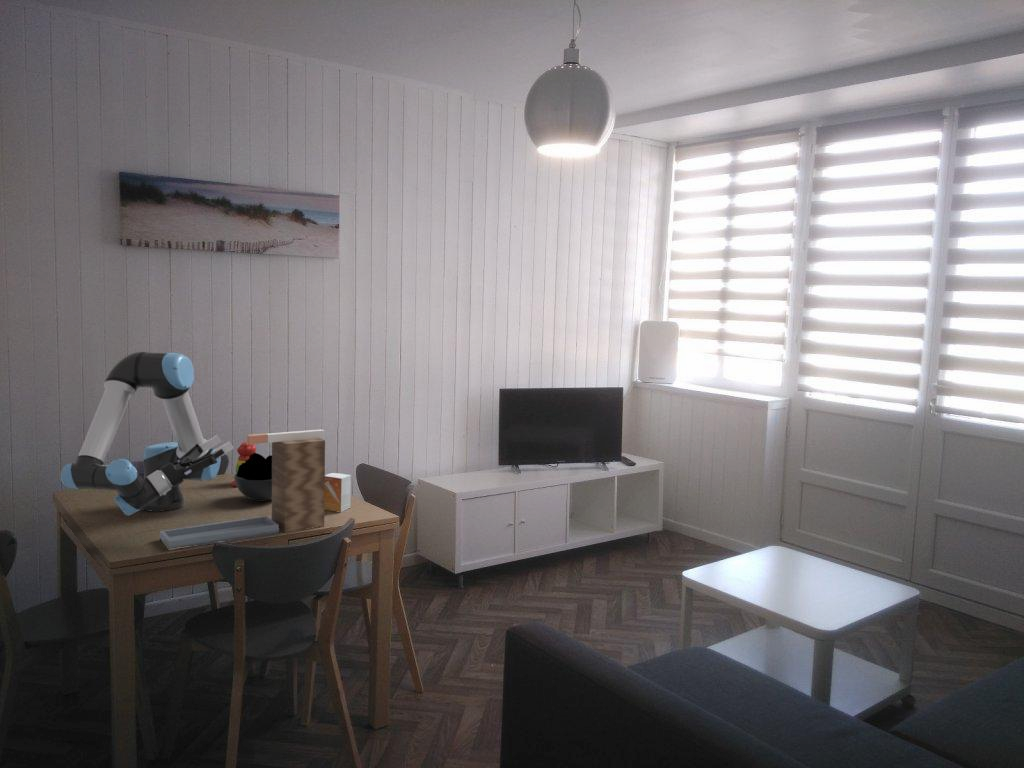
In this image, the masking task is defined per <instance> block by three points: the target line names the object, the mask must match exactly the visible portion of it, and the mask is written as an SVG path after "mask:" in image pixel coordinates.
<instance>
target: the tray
mask: <svg viewBox="0 0 1024 768" xmlns="http://www.w3.org/2000/svg"><path fill="white" fill-rule="evenodd" d="M279 530H280V529H279V525H278V524H277V523H275V522H274V521H272V518H269V517H268V516H267V515H263V516H262V515H261V516H257V517H256V516H255V517H249V518H241V519H235V520H229V521H221V522H214V523H213V522H212V523H207V524H201V525H200V524H199V525H191V526H186V527H179V528H172V529H165V530H159V540H160V539H161V540H162V541H163V542H164V543H165V544H166V546H168V548H169V549H171V548H177V547H185V546H194V545H203V546H208V545H207V544H210V545H215V544H214V543H215V542H218V541H228V542H230V541H229V540H235V541H238V540H237V539H241V540H245V539H244V538H247V539H251V538H250V537H254V538H258V537H257V536H260V537H264V536H265V535H266V536H272V534H273V535H277V534H279ZM228 542H227V543H228Z"/></svg>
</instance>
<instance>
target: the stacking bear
mask: <svg viewBox="0 0 1024 768" xmlns="http://www.w3.org/2000/svg"><path fill="white" fill-rule="evenodd" d="M256 450H257V447H256V444H248V443H247V441H245V442H242V443H241V444H240V446H238V447H237V448H236V451H237V453H238V454H239V456H238V457H237V460H236V465H235V474H237V472H238V469H239V466H240V465H241V464H242V463H245V461H246V460H248V459H249V457H250V455H252V454H253V453H256V452H257V451H256ZM230 486H231V487H233V486H237V485H236V483H235V480H233V481H232V482H231V483H230Z"/></svg>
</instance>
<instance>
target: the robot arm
mask: <svg viewBox="0 0 1024 768" xmlns="http://www.w3.org/2000/svg"><path fill="white" fill-rule="evenodd" d="M194 373H195V369H194V365H193V363H192V361H191V359H190V358H189V357H188V356H186V355H185V354H182V353H176V352H167V353H166V352H150V351H149V352H147V351H137V352H133V353H132V352H131V353H130V354H128V355H126V356H124V357H123V358H121V360H119V361H118V362H117V363H116V364H115V365H114V366H113V367H112V368H111V370H110V371H109V373H108V374H107V376H106V378H105V381H104V383H103V387H104V389H105V390H104V391H103V395H102V396H101V398H100V402H99V404H98V407H97V409H96V411H95V414H94V417H93V418H92V421H91V424H90V426H89V429H88V430H87V433H86V436H85V439H84V441H83V444H82V445H81V448H80V450H79V453H78V456H77V457H76V460H75V462H70V463H67V464H65V465H64V466H63V468H62V470H61V472H60V481H61V483H62V484H63V486H64V487H67V488H69V489H76V490H77V489H78V490H81V489H84V490H103V491H116V492H117V495H115V496H114V501H115V503H116V504H117V506H118V507H119V509H120V510H121V511H122V512H123V514H124V515H125V516H131V515H133V514H135V513H136V512H139V511H141V509H144V510H152V511H151V512H162V511H161V510H168V511H172V510H171V509H174V510H176V509H175V508H178V509H180V508H179V507H181V508H182V506H183V505H184V506H185V497H184V495H183V492H182V489H181V486H180V485H181V484H182V483H184V481H199V482H203V481H212V480H214V478H216V476H217V475H218V473H219V470H220V467H221V462H222V460H221V459H222V458H221V457H223V456H225V455H226V454H228V453H229V452H231V451H232V450H234V449H235V447H234V446H233V444H232V443H231V441H227V442H225V443H224V444H222V445H221V446H219V447H217V448H214V447H216V446H217V445H219V444H220V443H222V442H223V441H222V440H221V438H220V437H219V435H218V434H216V435H214V436H212V437H211V438H210V439H208V440H207V439H206V438H204V437H203V433H202V430H201V427H200V424H199V420H198V417H197V415H196V414H197V413H196V412H195V409H194V406H193V402H192V400H191V399H192V398H191V397H190V393H189V391H190V389H191V386H192V385H193V384H194V381H195V375H194ZM139 388H148V389H149V388H151V389H152V390H153V394H154V396H155V397H156V398H157V399H159V400H161V402H162V405H163V407H164V410H165V412H166V413H165V414H166V417H167V418H168V421H169V423H170V427H171V429H172V432H173V435H174V438H175V441H171V442H161V443H157V444H151V445H148V446H147V447H145V449H144V450H143V458H142V460H143V479H142V477H141V476H140V474H139V472H138V470H137V468H136V467H135V466H134V465H133V464H132V463H131V462H130V460H129V459H125V458H118V459H117V460H113V461H111V462H110V463H108V464H105V461H106V459H107V456H108V454H109V452H110V449H111V447H112V444H113V441H114V439H115V436H116V434H117V431H118V429H119V427H120V423H121V422H122V419H123V416H124V414H125V411H126V409H127V406H128V403H129V401H130V398H131V397H134V396H135V395H136V392H137V390H138V389H139ZM184 506H183V507H184ZM144 510H143V511H144Z"/></svg>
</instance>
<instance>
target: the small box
mask: <svg viewBox="0 0 1024 768" xmlns="http://www.w3.org/2000/svg"><path fill="white" fill-rule="evenodd" d="M351 478H352V474H346V473H339V472H338V473H337V472H331V473H327V474H325V500H324V511H331V512H335V511H339V512H338V513H340V512H341V513H343V512H342V511H344V510H346V509H348V508H350V509H351V487H352V486H351V485H352V484H351V482H352V479H351ZM348 510H349V509H348ZM346 511H347V510H346ZM344 512H345V511H344Z"/></svg>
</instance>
